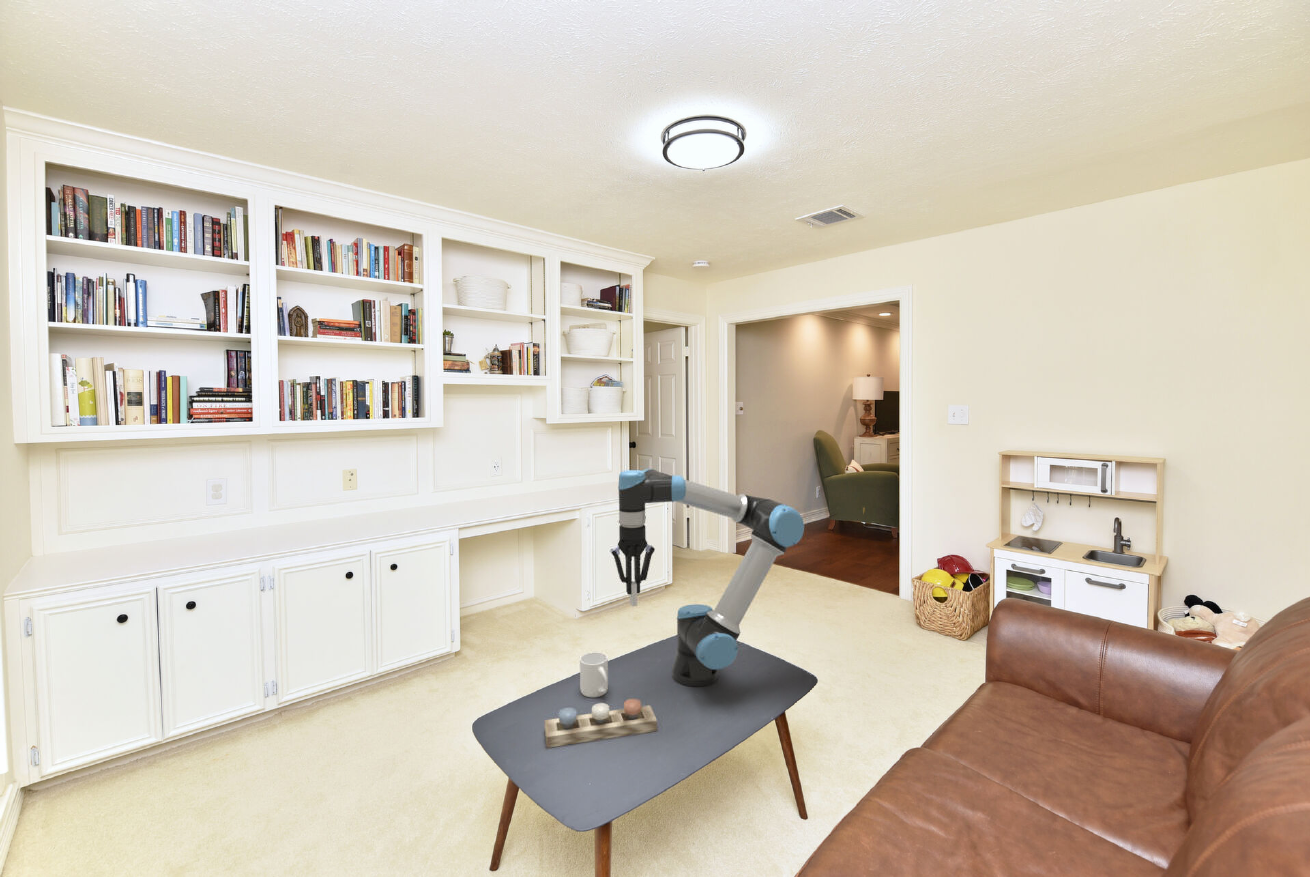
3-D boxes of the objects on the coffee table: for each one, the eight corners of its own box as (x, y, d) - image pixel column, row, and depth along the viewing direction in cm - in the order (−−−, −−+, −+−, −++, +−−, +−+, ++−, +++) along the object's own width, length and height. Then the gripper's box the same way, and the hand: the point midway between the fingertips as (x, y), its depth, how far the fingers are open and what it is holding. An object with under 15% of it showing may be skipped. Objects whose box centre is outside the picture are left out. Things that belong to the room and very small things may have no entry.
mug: (594, 706, 173) (593, 671, 172) (575, 689, 183) (575, 656, 182) (618, 697, 178) (618, 663, 177) (599, 681, 188) (598, 649, 187)
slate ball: (575, 722, 161) (575, 706, 161) (577, 732, 156) (577, 716, 156) (558, 724, 160) (557, 709, 159) (559, 734, 155) (559, 718, 155)
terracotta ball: (639, 712, 166) (639, 697, 165) (642, 722, 161) (642, 706, 161) (622, 715, 164) (622, 700, 164) (625, 724, 160) (625, 709, 159)
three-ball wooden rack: (650, 715, 168) (650, 705, 168) (657, 730, 160) (657, 720, 160) (544, 730, 161) (544, 720, 160) (546, 747, 153) (546, 737, 153)
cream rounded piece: (607, 717, 163) (607, 702, 163) (610, 727, 159) (610, 711, 158) (590, 719, 162) (590, 704, 162) (593, 729, 157) (593, 713, 157)
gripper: (650, 520, 172) (651, 597, 174) (607, 523, 169) (608, 602, 171) (657, 525, 165) (658, 606, 167) (612, 529, 161) (613, 611, 164)
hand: (633, 604), depth 169 cm, fingers closed
